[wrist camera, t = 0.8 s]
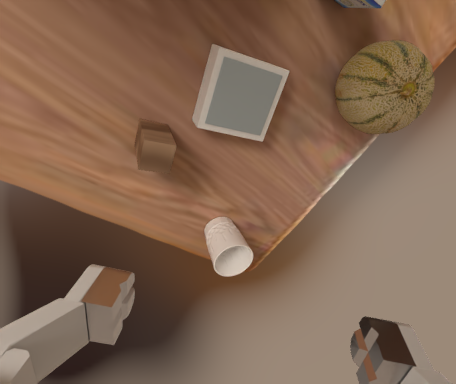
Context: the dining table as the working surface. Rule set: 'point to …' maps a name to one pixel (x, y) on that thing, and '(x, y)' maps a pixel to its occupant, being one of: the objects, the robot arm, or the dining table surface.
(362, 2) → the medicine box
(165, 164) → the walnut block
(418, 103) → the cantaloupe
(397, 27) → the dining table surface
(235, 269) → the white cup
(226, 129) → the base tray
